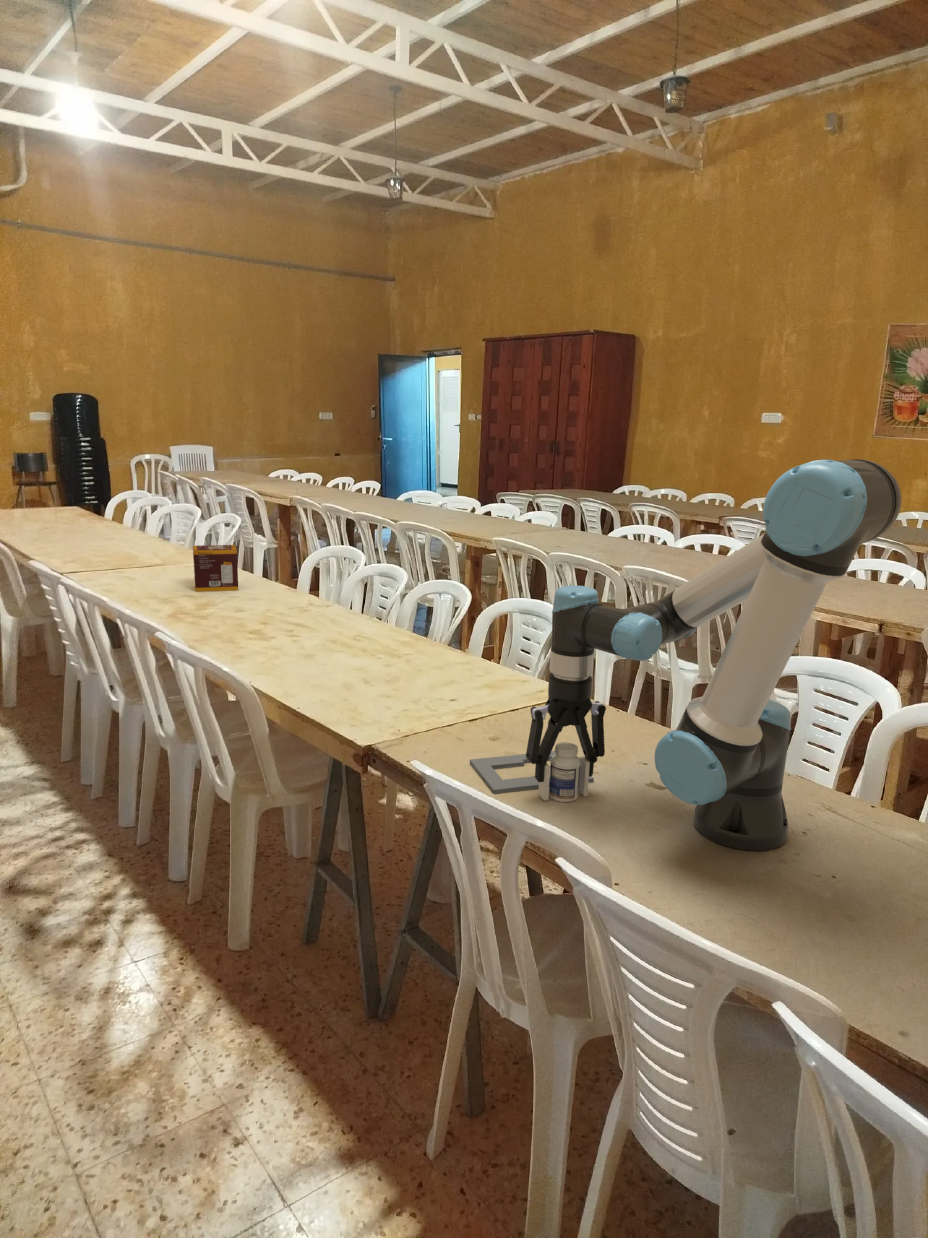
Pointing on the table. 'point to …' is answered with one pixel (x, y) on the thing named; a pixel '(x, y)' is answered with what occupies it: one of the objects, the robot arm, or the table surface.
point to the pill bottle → (564, 773)
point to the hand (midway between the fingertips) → (562, 794)
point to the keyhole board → (507, 785)
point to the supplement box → (215, 568)
